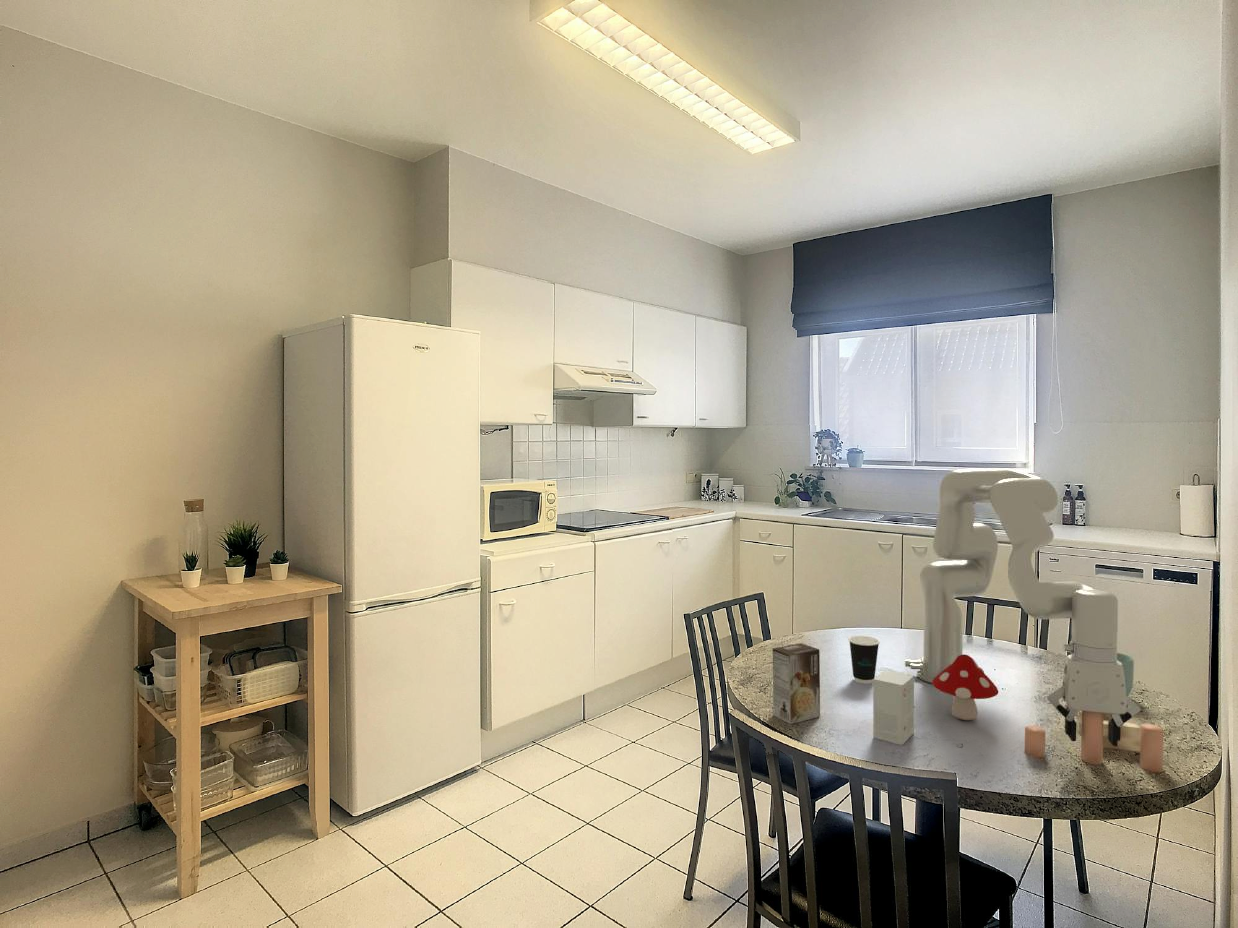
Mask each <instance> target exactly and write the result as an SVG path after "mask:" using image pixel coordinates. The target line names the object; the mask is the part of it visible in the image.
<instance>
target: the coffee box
mask: <svg viewBox="0 0 1238 928" xmlns="http://www.w3.org/2000/svg"><path fill="white" fill-rule="evenodd" d="M820 654H821V653H820V649H819V648H817V647H813V646H811V645H808V644H805V643H802V642H799V643H795V644H790V645H785V646H779V647H774V648H772V694H773V695H772V715H773V716H774V717H776V718H778V719H780V720H781V721H784V722H785V723H788V724H789V725H793V724H794V725H795V724H797V723H800V722H805V721H808V720H812V719H816V718H820V717H821V698H820V697H821V689H820V688H821V675H820V674H821V673H820V671H821V670H820V668H821V667H820V664H821V663H820V662H821V661H820V660H821V659H820V657H821V656H820Z"/></svg>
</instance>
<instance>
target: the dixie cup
mask: <svg viewBox="0 0 1238 928" xmlns="http://www.w3.org/2000/svg"><path fill="white" fill-rule="evenodd" d="M848 641H849V648H850V649H849V650H850V658H851V665H852V666H851V667H852V677H854V678H853V680H854V682H856V683H859V684H867V685H868V684H873V679H874V678H876V671H877V670H876V668H877V662H878V651H879V644H880V643H881V641H880V640H879V639H878V638H876V637H872V636H867V635H854V636H853V635H852V636H849V638H848Z"/></svg>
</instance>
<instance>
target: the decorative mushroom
mask: <svg viewBox="0 0 1238 928" xmlns="http://www.w3.org/2000/svg"><path fill="white" fill-rule="evenodd" d="M931 684H932V687H934V688H935V689H936V690H938V691H940V692H941V693H944V694H945V695H949V696H952V697H954V698H953V700H952V704H951V709H950V712H951V714H952V716H954V717H955V718H957V719H959V720H961V721H972V720H973V721H974V720H975V719H977V717H978V715H979V714H978V713H979V712H978V708H977V704H976V701H975V700H987V699H992V698H993V697H996V696H998V695H999V688H998V687H997V686H996V685H995V683H994V682H993V681H992V679H990V678H989V676H987V675H986V673H985V671H984V669H983V668H982V667H979V664H977V662H976V660H975V659H974V658H973V657H971V656H970V655H968V654H962V655H960V656H957V657H955V658H954V659H953V660H952V661H951V664H950V665H949V666H948V667H947V668H946V669H944V670H943V671H942V672H941V673H939V674H938V675H937V676H936V677H935V678H934V679H933V681H932V683H931Z"/></svg>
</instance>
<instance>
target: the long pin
mask: <svg viewBox="0 0 1238 928" xmlns="http://www.w3.org/2000/svg"><path fill="white" fill-rule="evenodd" d="M1103 721H1104V713H1096V712H1087V711H1082V728H1081V734H1080V735H1081V736H1080V737H1081V738H1080V741H1081V744H1080V759H1081V760H1082V762H1085V763H1086V764H1090V765H1095V766H1096V765H1097V766H1099V765H1102V764H1103V763H1104V761H1103V759H1104V747H1103Z"/></svg>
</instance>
